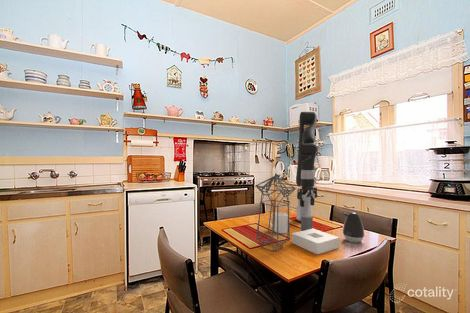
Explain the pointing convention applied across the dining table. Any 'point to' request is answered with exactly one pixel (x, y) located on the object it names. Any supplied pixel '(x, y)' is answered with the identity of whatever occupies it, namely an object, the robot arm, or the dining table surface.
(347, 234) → the dark grey rounded cone
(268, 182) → the geometric lantern
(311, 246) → the socket block
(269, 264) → the dining table surface
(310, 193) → the robot arm
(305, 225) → the plug
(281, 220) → the mug
